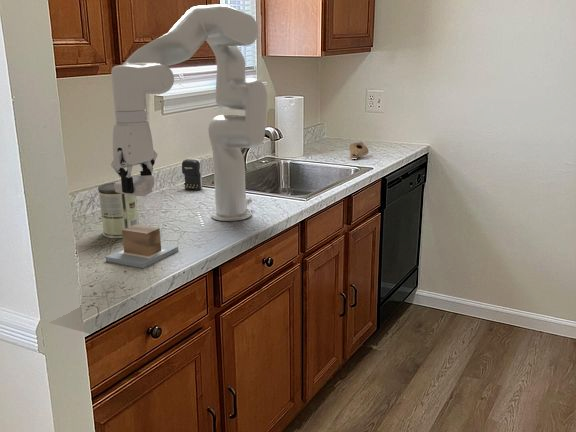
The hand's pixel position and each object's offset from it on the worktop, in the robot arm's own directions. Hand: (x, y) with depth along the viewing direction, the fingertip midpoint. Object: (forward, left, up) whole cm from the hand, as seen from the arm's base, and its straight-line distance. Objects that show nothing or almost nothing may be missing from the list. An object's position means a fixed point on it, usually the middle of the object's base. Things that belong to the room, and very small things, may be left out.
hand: (137, 189), depth 150 cm
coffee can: (-13, -19, -18) cm, 29 cm away
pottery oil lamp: (-148, +2, -18) cm, 149 cm away
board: (0, 0, -18) cm, 18 cm away
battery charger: (-66, -32, -18) cm, 75 cm away
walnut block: (0, 0, -16) cm, 16 cm away
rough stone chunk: (0, -1, -1) cm, 1 cm away
